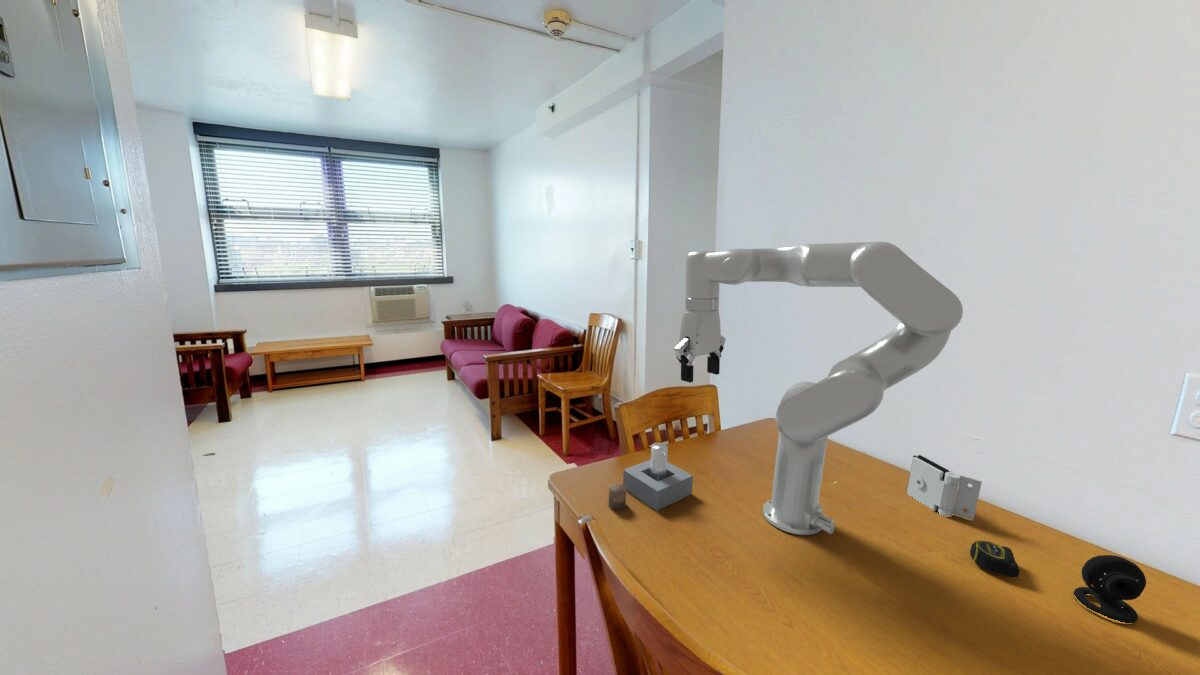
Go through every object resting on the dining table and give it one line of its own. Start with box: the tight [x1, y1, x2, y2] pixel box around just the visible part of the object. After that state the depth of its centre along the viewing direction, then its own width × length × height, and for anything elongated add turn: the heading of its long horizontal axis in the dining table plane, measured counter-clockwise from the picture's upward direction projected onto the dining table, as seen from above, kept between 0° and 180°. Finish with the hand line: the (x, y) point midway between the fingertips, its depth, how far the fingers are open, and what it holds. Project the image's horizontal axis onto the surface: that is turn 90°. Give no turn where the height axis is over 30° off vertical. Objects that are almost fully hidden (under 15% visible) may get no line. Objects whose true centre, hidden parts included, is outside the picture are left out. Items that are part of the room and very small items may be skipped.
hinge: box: [906, 454, 983, 521], centre depth 106 cm, size 14×5×10 cm, turn 23°
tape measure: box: [969, 539, 1020, 578], centre depth 87 cm, size 7×7×4 cm
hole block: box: [622, 459, 694, 511], centre depth 111 cm, size 12×12×5 cm
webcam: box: [1073, 554, 1147, 624], centre depth 77 cm, size 8×8×10 cm
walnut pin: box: [608, 483, 627, 512], centre depth 105 cm, size 4×4×4 cm
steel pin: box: [650, 442, 669, 481], centre depth 110 cm, size 4×4×12 cm
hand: (700, 377), depth 107 cm, fingers open, 9 cm apart
